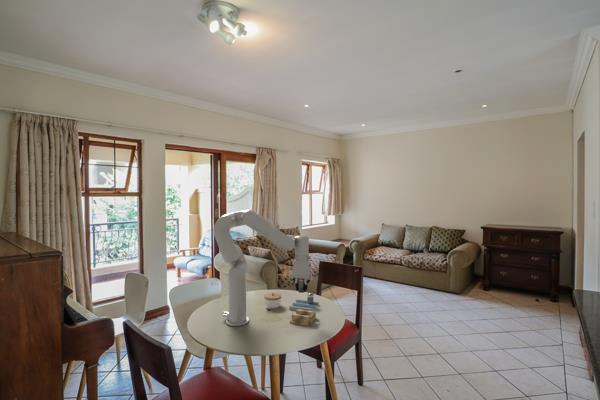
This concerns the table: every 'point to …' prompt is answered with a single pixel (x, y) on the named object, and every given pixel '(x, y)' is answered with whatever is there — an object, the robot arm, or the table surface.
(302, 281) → the cell
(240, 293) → the robot arm
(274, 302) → the lidded jar
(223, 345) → the table surface
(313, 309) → the trough board
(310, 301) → the cell
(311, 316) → the cradle
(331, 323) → the table surface
